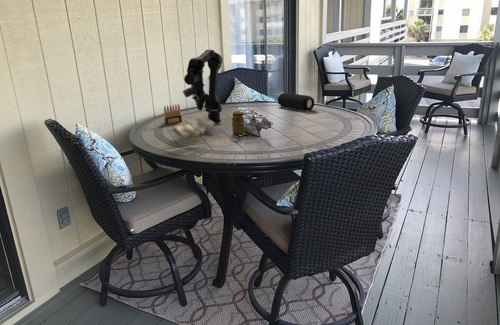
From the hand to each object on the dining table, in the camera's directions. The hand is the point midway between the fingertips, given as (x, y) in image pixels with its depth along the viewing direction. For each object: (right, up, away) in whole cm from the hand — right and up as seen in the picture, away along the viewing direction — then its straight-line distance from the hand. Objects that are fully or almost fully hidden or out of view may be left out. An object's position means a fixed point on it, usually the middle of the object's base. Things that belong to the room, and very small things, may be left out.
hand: (199, 110), depth 226 cm
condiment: (+22, -15, -10) cm, 28 cm away
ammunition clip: (-18, -7, +17) cm, 25 cm away
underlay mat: (-3, -13, -3) cm, 13 cm away
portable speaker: (+59, +7, +49) cm, 77 cm away
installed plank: (-7, -13, -5) cm, 15 cm away
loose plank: (+2, -9, -2) cm, 9 cm away
